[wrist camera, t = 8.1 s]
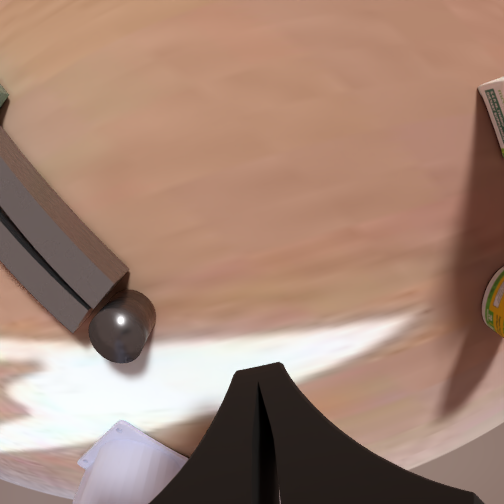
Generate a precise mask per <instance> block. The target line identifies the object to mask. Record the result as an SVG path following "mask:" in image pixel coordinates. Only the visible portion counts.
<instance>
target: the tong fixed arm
mask: <svg viewBox="0 0 504 504" xmlns="http://www.w3.org/2000/svg"><path fill="white" fill-rule="evenodd" d="M0 261H1V262H2V263H3V264H4V265H5V267H6V268H7V269H8V270H9V271H10V272H11V273H12V274H13V275H14V276H15V278H16V279H17V280H18V281H19V282H20V283H21V284H22V285H23V286H24V287H25V288H26V289H27V290H28V291H29V292H30V293H31V294H32V295H33V296H34V297H35V298H36V299H37V300H38V301H39V302H40V303H41V304H42V305H43V306H44V307H45V308H46V309H47V310H48V311H49V312H50V313H51V314H52V315H53V316H54V317H55V318H56V319H57V320H58V321H60V322H61V323H62V324H63V325H64V326H65V327H66V328H67V329H68V330H70V331H71V332H72V333H74V332H75V331H76V330H77V329H78V327H79V326H80V325H81V324H82V323H83V322H84V321H85V320H86V319H87V318H88V317H89V316H90V314H91V313H92V311H93V310H94V309H93V308H92V307H90V306H89V305H88V304H87V303H86V302H85V301H84V300H83V299H82V298H81V297H80V296H79V295H78V294H77V293H76V292H75V291H74V290H73V289H72V288H71V287H70V286H69V285H68V284H67V283H66V282H65V281H64V279H63V278H62V277H61V276H60V275H59V274H58V273H57V272H56V271H55V270H54V269H53V268H52V267H51V266H50V265H49V263H48V262H47V261H46V260H45V259H44V258H43V257H42V256H41V255H40V253H39V252H38V251H37V250H36V249H35V248H34V247H33V245H32V244H31V243H30V242H29V241H28V240H27V238H26V237H25V236H24V235H23V234H22V232H21V231H20V230H19V229H18V227H17V226H16V225H15V224H14V223H13V221H12V220H11V219H10V217H9V216H8V215H7V214H6V212H5V211H4V210H3V208H2V207H1V206H0ZM155 321H156V312H155V309H154V306H153V304H152V303H151V301H150V300H149V299H148V298H147V297H146V296H145V295H143V294H142V293H140V292H138V291H135V290H122V291H120V292H118V293H116V294H115V295H114V296H113V297H112V298H111V299H110V300H109V302H108V303H107V304H106V305H105V306H104V307H103V308H102V309H101V310H100V311H99V313H98V314H97V315H96V316H95V317H94V318H93V319H92V321H91V323H90V325H89V337H90V341H91V343H92V345H93V347H94V348H95V349H96V351H97V352H98V353H99V354H100V355H101V356H103V357H104V358H106V359H107V360H110V361H112V362H115V363H128V362H131V361H133V360H135V359H136V358H137V357H138V356H139V355H140V353H141V351H142V348H143V346H144V344H145V342H146V340H147V338H148V336H149V334H150V332H151V330H152V328H153V326H154V324H155Z"/></svg>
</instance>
